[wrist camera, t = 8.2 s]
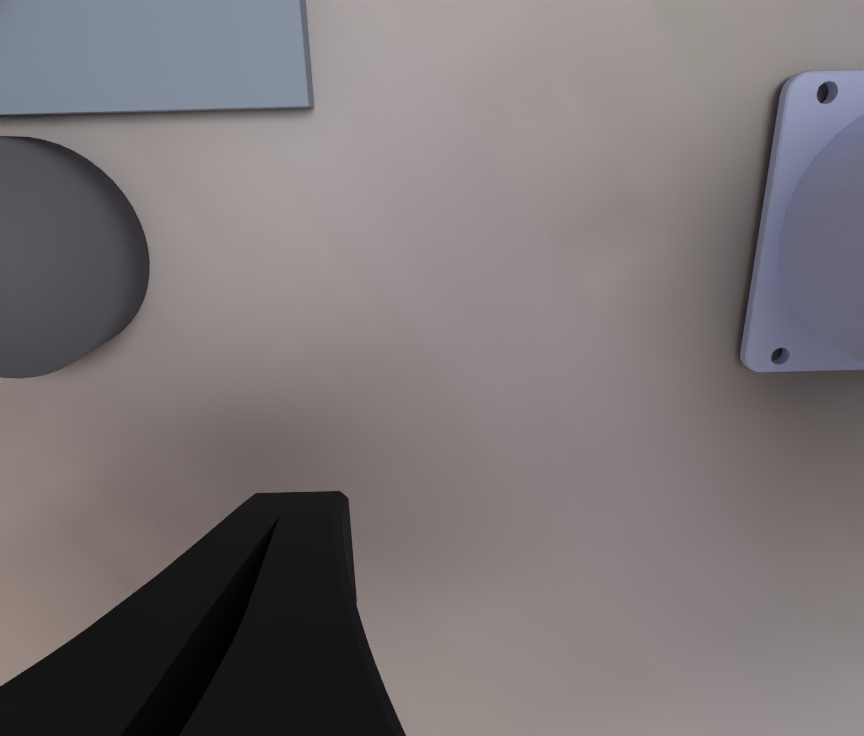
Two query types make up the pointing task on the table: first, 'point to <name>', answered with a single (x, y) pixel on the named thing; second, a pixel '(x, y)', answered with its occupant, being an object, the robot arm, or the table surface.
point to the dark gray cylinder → (63, 257)
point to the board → (152, 56)
